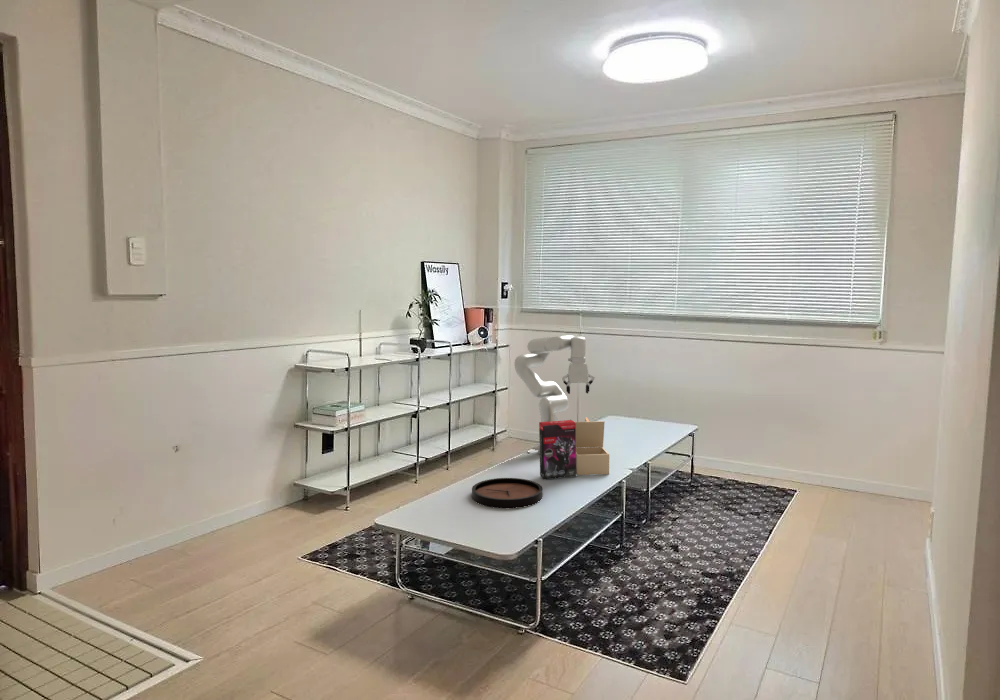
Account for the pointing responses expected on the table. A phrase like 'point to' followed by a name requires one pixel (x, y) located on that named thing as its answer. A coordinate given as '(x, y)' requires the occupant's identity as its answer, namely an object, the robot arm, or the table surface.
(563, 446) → the graphics card box
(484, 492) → the wall clock
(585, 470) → the carton
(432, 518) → the table surface
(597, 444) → the flap
